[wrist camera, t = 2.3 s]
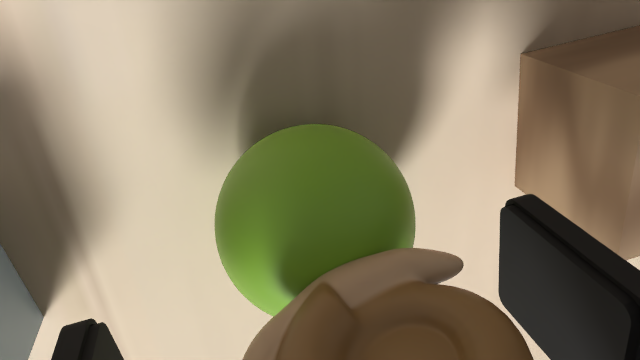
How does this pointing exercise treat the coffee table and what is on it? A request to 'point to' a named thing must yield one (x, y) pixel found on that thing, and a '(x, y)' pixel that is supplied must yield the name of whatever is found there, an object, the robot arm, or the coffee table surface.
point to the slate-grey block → (16, 314)
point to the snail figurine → (345, 258)
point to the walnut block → (584, 134)
